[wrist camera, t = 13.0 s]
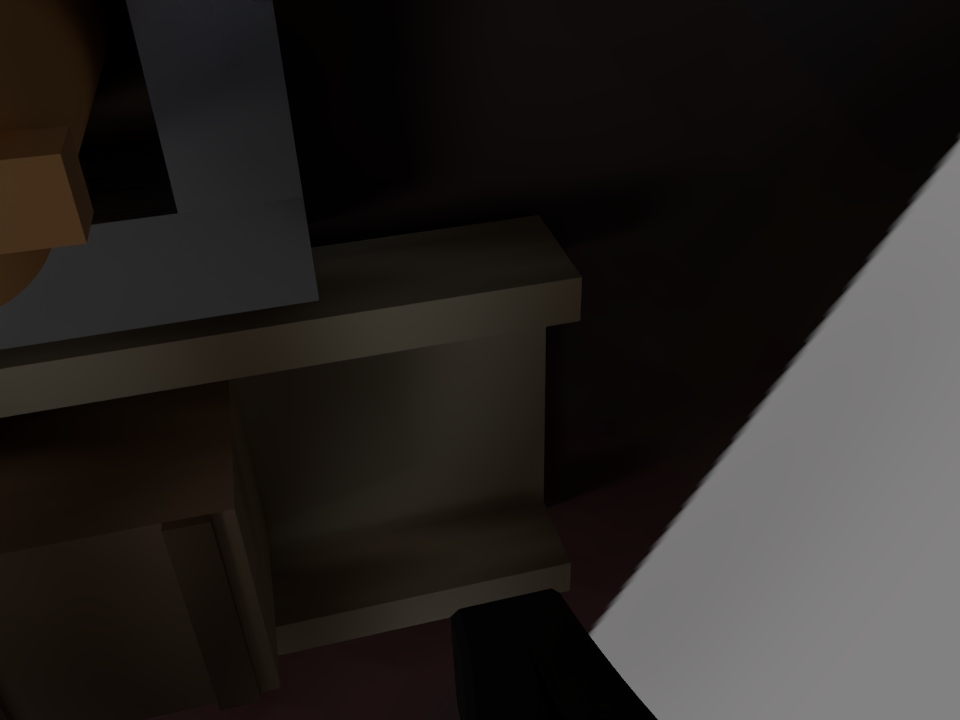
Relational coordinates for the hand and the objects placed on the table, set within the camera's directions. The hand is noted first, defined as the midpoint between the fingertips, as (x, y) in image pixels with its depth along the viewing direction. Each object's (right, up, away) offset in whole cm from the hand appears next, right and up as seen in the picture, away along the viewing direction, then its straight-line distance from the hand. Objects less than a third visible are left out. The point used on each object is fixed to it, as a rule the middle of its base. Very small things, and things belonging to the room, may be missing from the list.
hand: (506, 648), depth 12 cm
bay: (-6, +2, +9) cm, 11 cm away
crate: (-8, +1, +8) cm, 12 cm away
